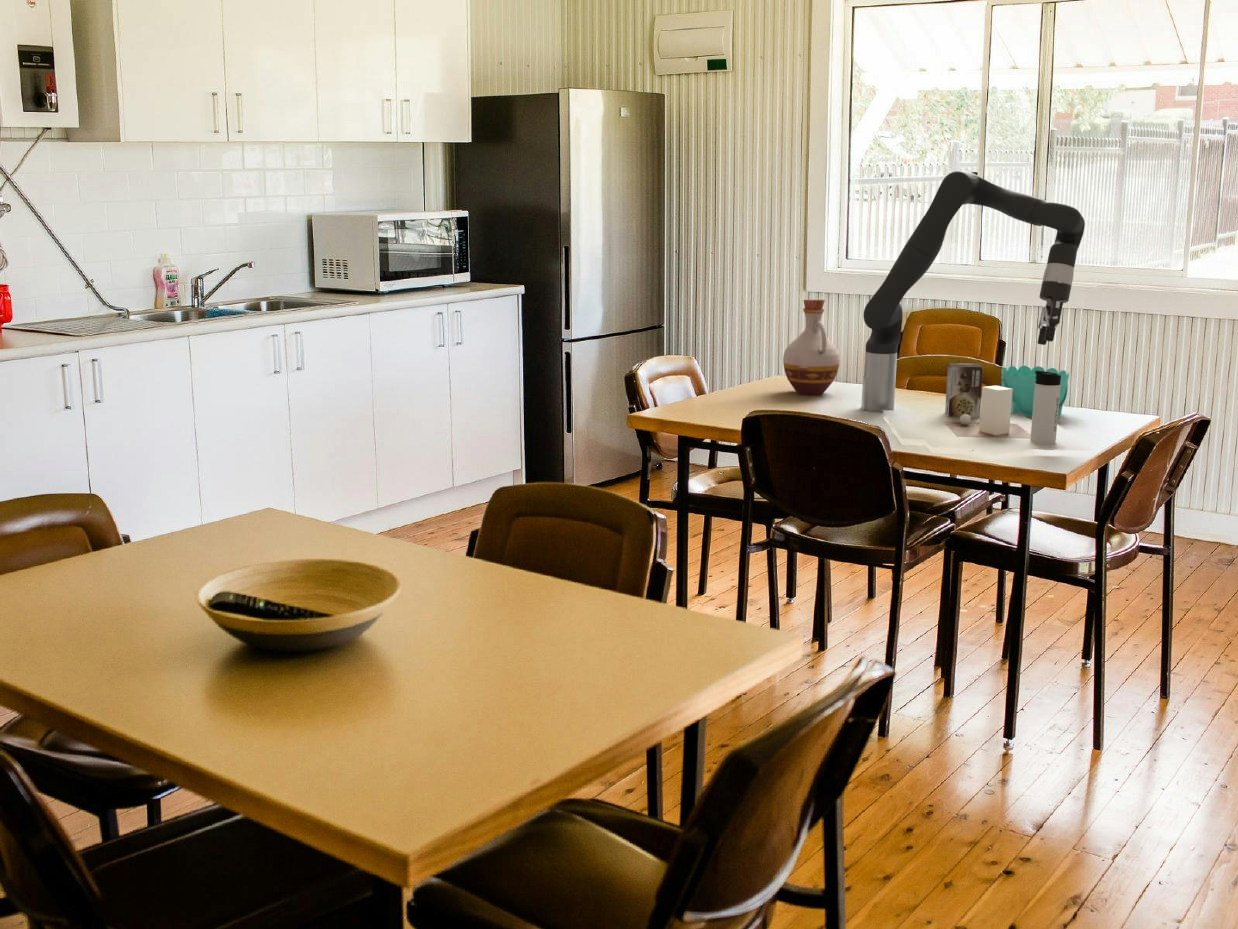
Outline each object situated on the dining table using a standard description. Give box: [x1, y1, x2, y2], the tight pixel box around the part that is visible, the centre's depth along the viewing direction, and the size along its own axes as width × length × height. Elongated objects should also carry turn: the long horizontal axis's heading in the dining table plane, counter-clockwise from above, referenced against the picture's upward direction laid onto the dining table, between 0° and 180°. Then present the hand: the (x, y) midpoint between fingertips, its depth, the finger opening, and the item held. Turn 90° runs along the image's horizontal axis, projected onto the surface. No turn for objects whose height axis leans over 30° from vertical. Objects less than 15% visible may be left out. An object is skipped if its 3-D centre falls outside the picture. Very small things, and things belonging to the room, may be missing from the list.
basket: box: [1000, 365, 1070, 419], centre depth 382 cm, size 19×18×13 cm
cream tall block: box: [979, 385, 1013, 435], centre depth 346 cm, size 5×6×12 cm
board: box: [943, 421, 1031, 439], centre depth 351 cm, size 20×20×2 cm
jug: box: [782, 298, 841, 396], centre depth 409 cm, size 20×18×30 cm
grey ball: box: [959, 414, 972, 425], centre depth 357 cm, size 3×3×3 cm
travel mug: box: [1029, 370, 1061, 445], centre depth 335 cm, size 6×7×20 cm
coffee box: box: [944, 362, 984, 419], centre depth 370 cm, size 9×6×16 cm
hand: (1045, 342), depth 345 cm, fingers open, 8 cm apart
